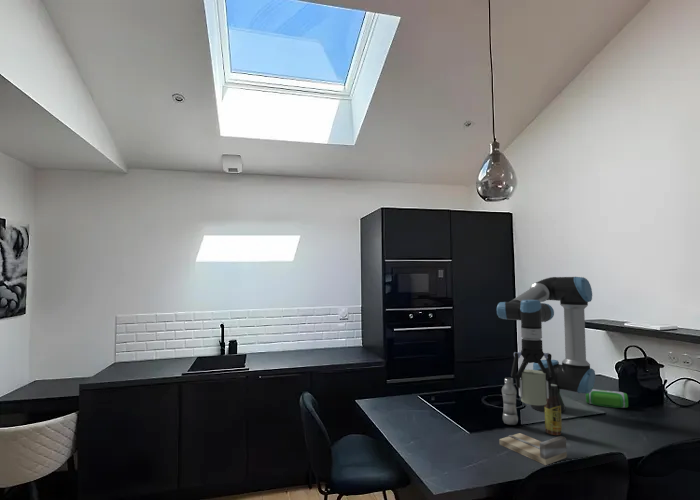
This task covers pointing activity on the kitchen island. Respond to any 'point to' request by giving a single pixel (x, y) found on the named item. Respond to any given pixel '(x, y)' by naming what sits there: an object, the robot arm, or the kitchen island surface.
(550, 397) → the sauce bottle
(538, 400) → the can
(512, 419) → the plastic bottle
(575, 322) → the robot arm
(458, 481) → the kitchen island surface
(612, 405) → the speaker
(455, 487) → the kitchen island surface
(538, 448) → the rail board
